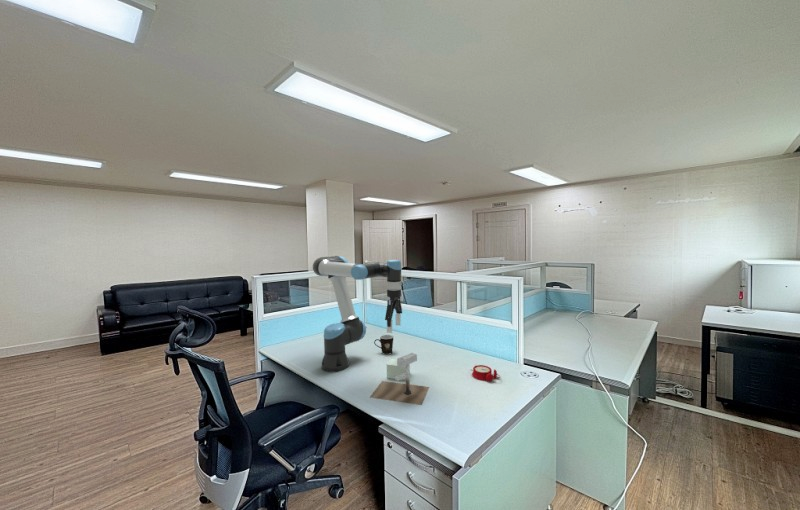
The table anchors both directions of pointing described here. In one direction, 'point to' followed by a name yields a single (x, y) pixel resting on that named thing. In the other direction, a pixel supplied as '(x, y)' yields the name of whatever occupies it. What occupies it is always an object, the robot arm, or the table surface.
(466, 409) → the table surface
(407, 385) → the grey t-shaped stand
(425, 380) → the table surface
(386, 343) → the coffee mug
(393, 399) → the board
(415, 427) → the table surface
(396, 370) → the pale green block
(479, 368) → the alarm clock
